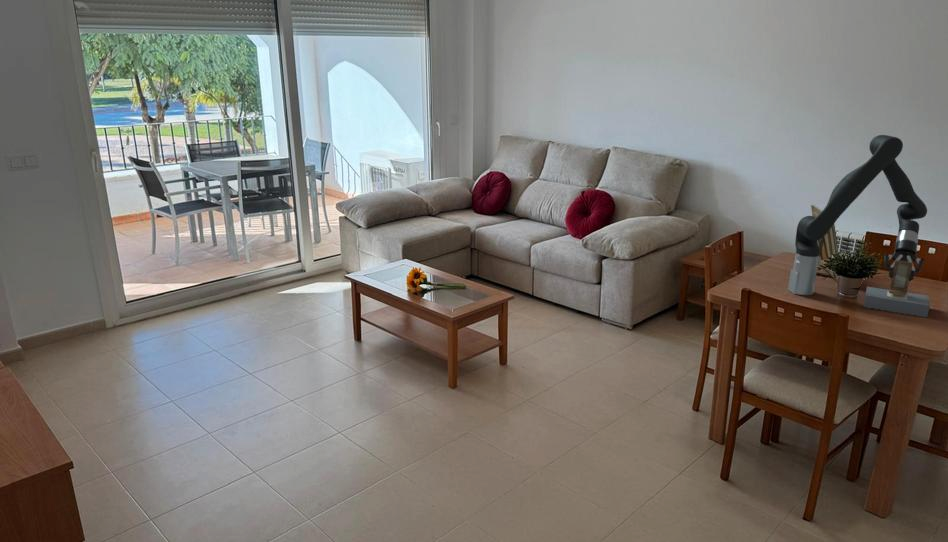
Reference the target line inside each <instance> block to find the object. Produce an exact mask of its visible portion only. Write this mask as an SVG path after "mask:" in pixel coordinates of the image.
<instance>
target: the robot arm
mask: <svg viewBox="0 0 948 542" xmlns="http://www.w3.org/2000/svg"><path fill="white" fill-rule="evenodd" d="M868 148H869V151H870V153H871V157H870V158H869V159H868V160H867V161H866V162H865V163H863V164H862V165H860V166H858V167H857V168H855V169H853V170H852V171H850V172H849V173H848V174H845V176H844V177H842V179H841V180H840V181H839V182H838V183H837V184H836V185H835V186H834V188H833V190H832V191H831V194H830V195H829V199H828V202H827V203H826V206H825V207H824V208H823V209H822V212H821V213H820V214H819V215H818V216H817V217H813V216H812V215H806V216H804V217H802V218H801V219H800V220H799V222H798V223H797V227H796V231H795V232H796V234H795V241H794V242H795V243H794V244H795V255H794V256H795V257H794V263H793V269H792V268H791V270H790V273H789V275H790V276H789V279H788V280H789V281H788V288H787V290H788V291H789V292H791V293H792V294H793V295H800V296H812V295H814V290H815V286H816V285H815V284H816V278H817V271H818V268H819V263H818V261H819V255H820V248H819V246H818V243H817V240H820V239H822V238H823V237H824V236H825V235H826V234H827V232H828V231H829V230H830V228H831V227H832V226H833V224H835V223H836V222H837V220H838V219H840V217H841V215H843V213H845V211H846V210H847V209H848V208H849V207H850V205H852V203H853V202H854V201H856V200H857V199H858V197H859V196H860V195H861V194H862V193H863V192H864V191H865V189H866V188H867V187H868V186H869V185H870V184H871V183H872V182H873V181H874V180H875V179H876V178H877V176H878V175H879V174H880V173H881V172H883V174H884V176H885V177H886V180H887V182H888V184H889V186H890V188H891V190H892V193H893V195H894V198H895V200H896V201H897V202H899V203H903V204H901V205H899V206H898V208H897V210H896V215H897V219H898V224H899V225H898V232H897V236H896V241H895V245H894V252H893V253H892V254H889V253H885V254H884V269H887V270H889V271H888V277H889V278H890V279H892V277H893V270H894V264H895V260H898V261H906V262H913V265H912V270H911V274H910V278H909V282H912V281H913V280H914V279H915V274H920V272H921V270H922V267H923V264H924V262H925V258H924V257H922V258H918V257H917V249H918V241H919V231H920V223H918V221H916V220H918V219H922V218H926V215H927V213H928V208H927V205H926V204H925V203H924V201H923V200H922V199H921V198H920V196H918V194H917V193H916V192H915V190H914V187H913V184H912V183H911V180H910V179H909V177H908V175H907V174H906V173H905V172H904V170H903V169H902V168H901V166H900V165H899V163H898V162H897V160H896V158H897V157H898V156H899V155H900V154H901V153H902V151H903V148H904V144H903V141H902V140H901V139H900V138H898V137H897V136H892V135H887V134H880V135H877V136H874V137H873V138H872V139H871V141H870V142H869V147H868ZM891 259H892V260H893V262H892V264H890V260H891ZM915 262H916V263H917V264H918V265H917V268H915V266H914V263H915Z"/></svg>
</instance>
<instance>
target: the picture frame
mask: <svg viewBox="0 0 948 542" xmlns="http://www.w3.org/2000/svg"><path fill="white" fill-rule="evenodd" d="M810 207H811V208H810V209H811V214H812V215H811V216H813V217H817V216H818V215H819V214H820V213H821V212H822V211H823V209H820V208H819V207H818V206H816V205H815V204H811V205H810ZM836 233H837V232H836V225H835V223H834V224H833V226H832V227H831V228H830V230H829V231H828V232H827V234H826V235H825V236H824V237H823V238H822V239H820V240H817V243H818V246H819V248H820V255H819V261H818V264H819V265H820V266H821V265H822V264H823V263H824V260H826V259H828V258H829V257H831V255H833V254H838V253H839V248H838V240H837V234H836ZM824 270H825V271H826V272H827V273H828V274H829V275H830V276H831V277H832V278H833V279H834V280H835V281H836V282H837V276H836V275H835V273H834V272H833V271H830V270H826V269H824Z"/></svg>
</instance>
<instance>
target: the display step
mask: <svg viewBox="0 0 948 542" xmlns="http://www.w3.org/2000/svg"><path fill="white" fill-rule="evenodd" d="M864 296H865V297H864V301H863V308H865V307H867V308H866V309H871V308H874V309H873V310H878V309H881V310H880V311H884V310H887V311H886V312H890V311H892V313H896V312H897V313H896V314H902V313H903V314H902V315H908V314H910V316H914V315H916V316H915V317H920V316H921V317H922V318H928V315H929V312H930V311H929V310H930V306H931V305H930V304H931V303H930V295H927V294H918V293H911V292H907V295H906V296H904V295H897V294H891V293H889V289H887V288H886V289H885V288H878V287H873V286H866V289H865V295H864ZM921 317H920V318H921Z"/></svg>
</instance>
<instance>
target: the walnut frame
mask: <svg viewBox="0 0 948 542" xmlns="http://www.w3.org/2000/svg"><path fill="white" fill-rule="evenodd" d="M912 265H914V263H913V262H906V261H898V260H895V264H894V270H893V277H892V278H890V279H891V281H890V285H889V289H888V290H889V293H891V294H897V295H904V296H906V295H907V293H908V288H909V284H910V281H909V278H910V274H911V270H912Z"/></svg>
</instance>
